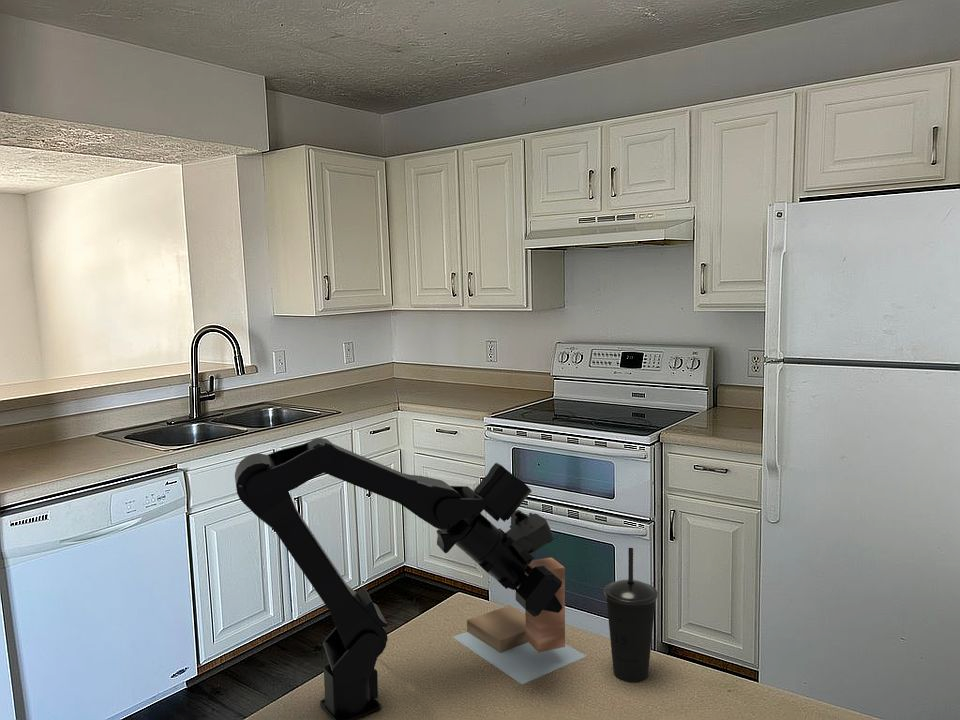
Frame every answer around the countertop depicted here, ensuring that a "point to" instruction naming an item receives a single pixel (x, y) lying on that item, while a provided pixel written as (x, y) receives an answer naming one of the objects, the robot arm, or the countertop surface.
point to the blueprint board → (522, 658)
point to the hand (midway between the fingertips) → (553, 603)
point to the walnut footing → (500, 628)
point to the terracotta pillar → (548, 614)
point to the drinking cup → (630, 625)
